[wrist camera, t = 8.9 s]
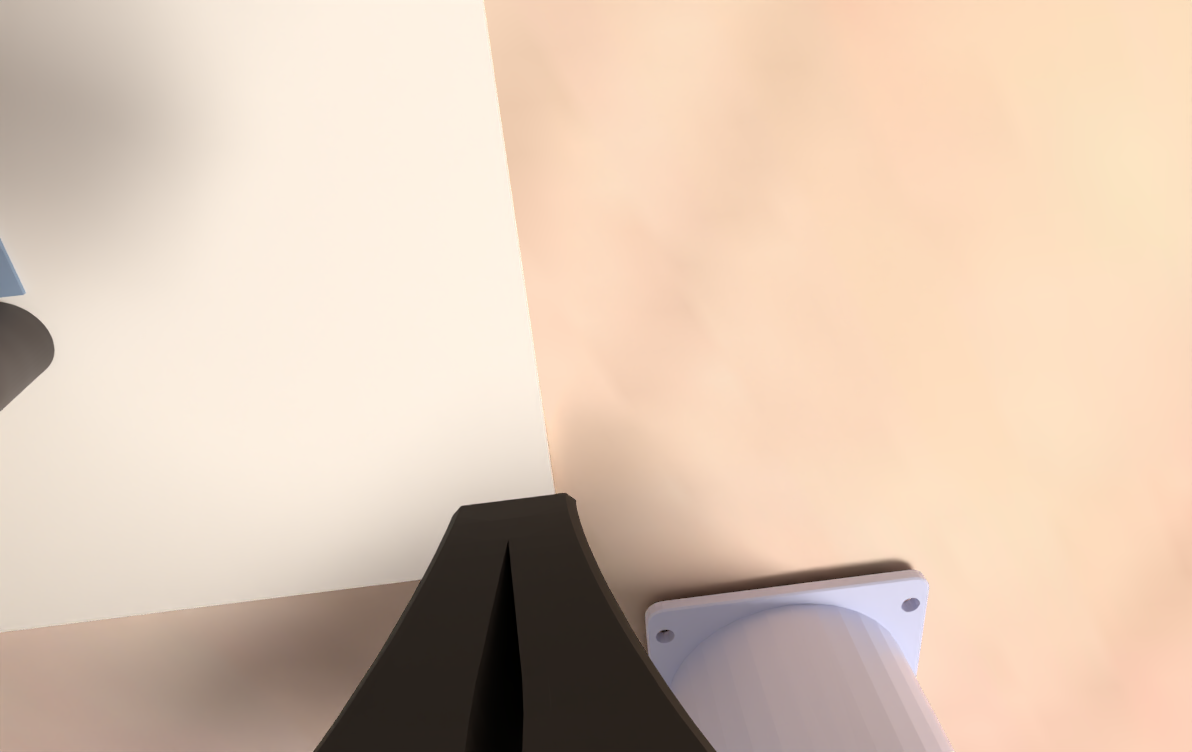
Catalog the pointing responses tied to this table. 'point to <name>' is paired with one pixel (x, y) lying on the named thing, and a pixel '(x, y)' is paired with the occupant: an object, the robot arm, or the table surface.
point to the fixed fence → (21, 351)
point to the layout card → (254, 300)
